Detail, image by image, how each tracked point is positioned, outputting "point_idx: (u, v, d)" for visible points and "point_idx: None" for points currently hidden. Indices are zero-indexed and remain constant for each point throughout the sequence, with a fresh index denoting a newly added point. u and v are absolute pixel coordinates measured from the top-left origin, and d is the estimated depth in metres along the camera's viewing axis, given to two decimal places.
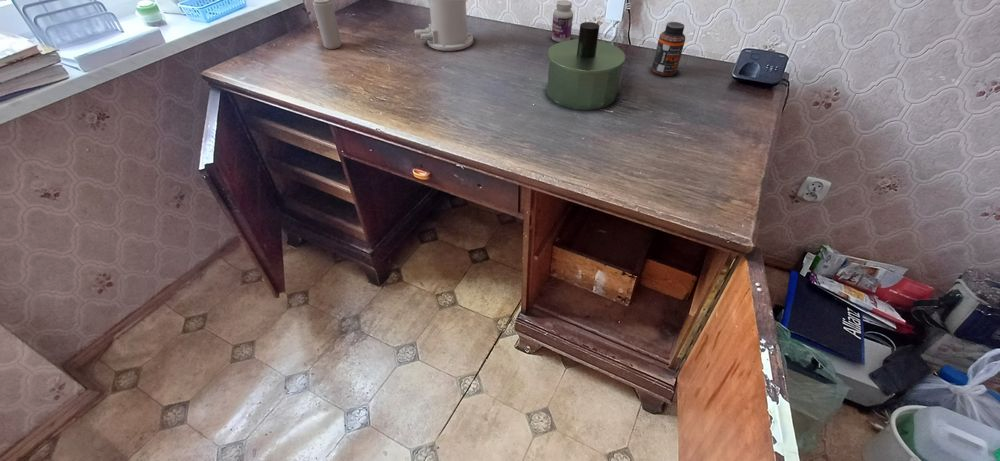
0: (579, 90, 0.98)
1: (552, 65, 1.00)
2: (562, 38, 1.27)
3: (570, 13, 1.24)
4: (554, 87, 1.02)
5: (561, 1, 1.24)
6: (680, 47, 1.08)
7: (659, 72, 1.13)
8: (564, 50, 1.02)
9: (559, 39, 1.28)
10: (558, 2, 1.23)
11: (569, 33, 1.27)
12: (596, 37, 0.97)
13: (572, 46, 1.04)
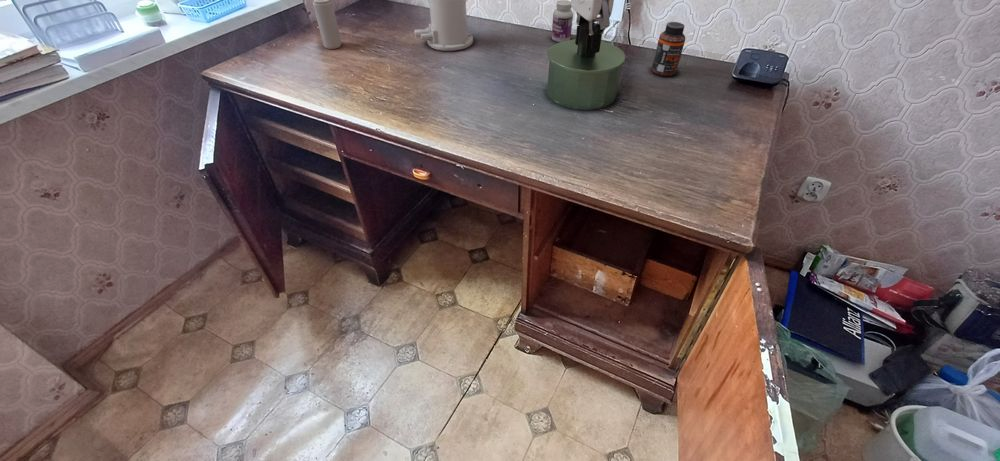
0: (579, 90, 0.98)
1: (552, 65, 1.00)
2: (562, 38, 1.27)
3: (570, 13, 1.24)
4: (554, 87, 1.02)
5: (561, 1, 1.24)
6: (680, 47, 1.08)
7: (659, 72, 1.13)
8: (564, 50, 1.02)
9: (559, 39, 1.28)
10: (558, 2, 1.23)
11: (569, 33, 1.27)
12: None
13: (572, 46, 1.04)
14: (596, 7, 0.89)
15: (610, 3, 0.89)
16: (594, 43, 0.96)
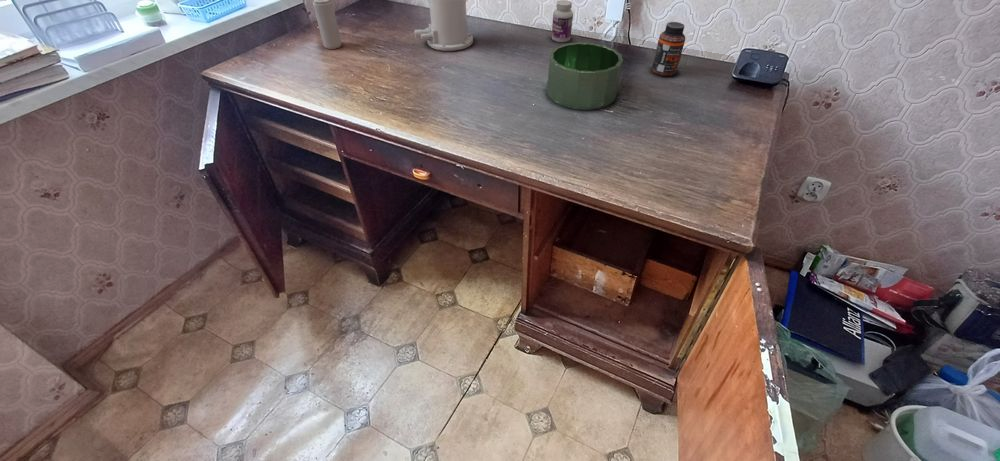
0: (579, 90, 0.98)
1: (552, 65, 1.00)
2: (562, 38, 1.27)
3: (570, 13, 1.24)
4: (554, 87, 1.02)
5: (561, 1, 1.24)
6: (680, 47, 1.08)
7: (659, 72, 1.13)
8: None
9: (559, 39, 1.28)
10: (558, 2, 1.23)
11: (569, 33, 1.27)
12: None
13: None
14: None
15: None
16: None
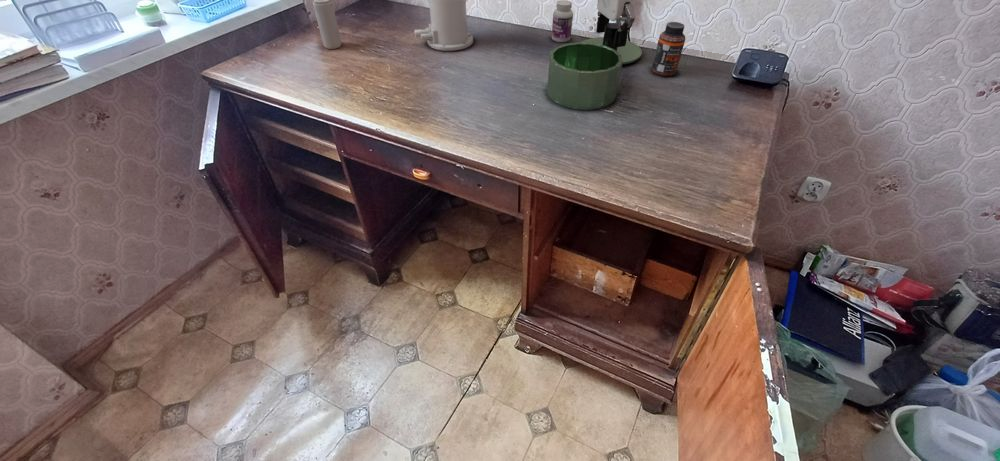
0: (579, 90, 0.98)
1: (552, 65, 1.00)
2: (562, 38, 1.27)
3: (570, 13, 1.24)
4: (554, 87, 1.02)
5: (561, 1, 1.24)
6: (680, 47, 1.08)
7: (659, 72, 1.13)
8: None
9: (559, 39, 1.28)
10: (558, 2, 1.23)
11: (569, 33, 1.27)
12: None
13: (597, 43, 1.25)
14: (619, 10, 1.10)
15: (630, 7, 1.11)
16: (622, 38, 1.15)
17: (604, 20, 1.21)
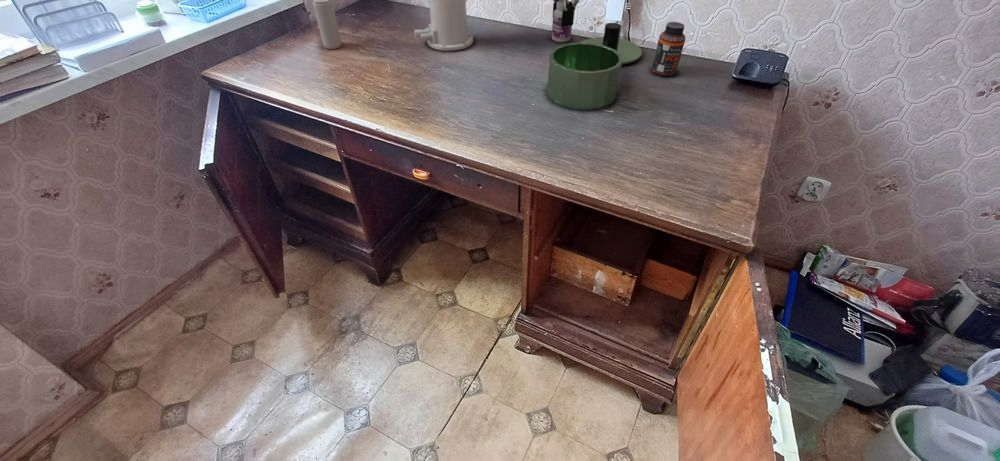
0: (579, 90, 0.98)
1: (552, 65, 1.00)
2: (562, 38, 1.27)
3: None
4: (554, 87, 1.02)
5: (561, 1, 1.24)
6: (680, 47, 1.08)
7: (659, 72, 1.13)
8: None
9: (559, 39, 1.28)
10: (558, 2, 1.23)
11: (569, 33, 1.27)
12: (618, 35, 1.18)
13: (597, 43, 1.25)
14: None
15: None
16: (568, 17, 1.22)
17: None
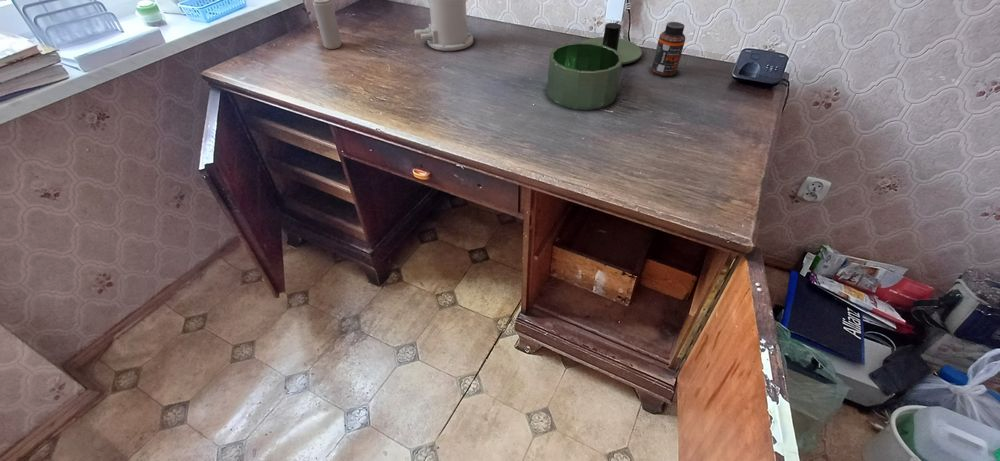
0: (579, 90, 0.98)
1: (552, 65, 1.00)
2: None
3: None
4: (554, 87, 1.02)
5: None
6: (680, 47, 1.08)
7: (659, 72, 1.13)
8: None
9: None
10: None
11: None
12: (618, 35, 1.18)
13: (597, 43, 1.25)
14: None
15: None
16: None
17: None
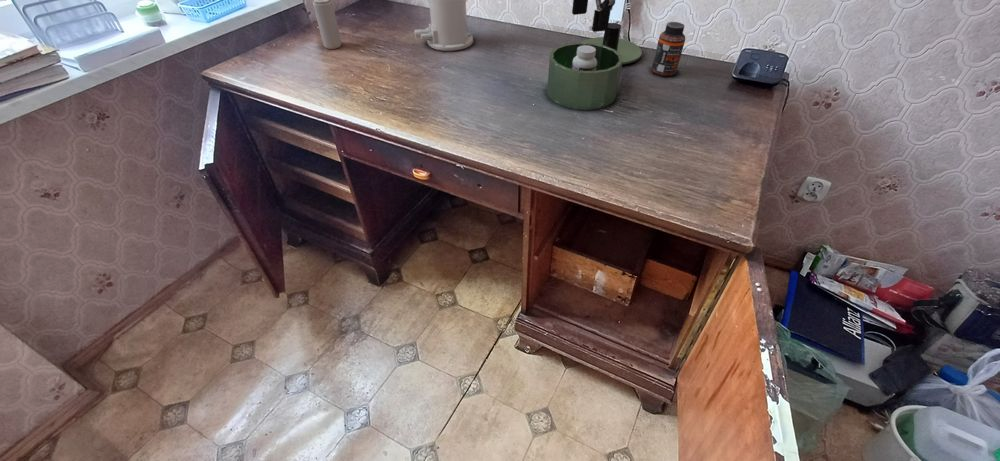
0: (579, 90, 0.98)
1: (552, 65, 1.00)
2: None
3: (594, 62, 1.01)
4: (554, 87, 1.02)
5: (583, 47, 1.01)
6: (680, 47, 1.08)
7: (659, 72, 1.13)
8: None
9: None
10: (579, 48, 1.00)
11: None
12: (618, 35, 1.18)
13: (597, 43, 1.25)
14: None
15: None
16: (602, 20, 0.91)
17: None
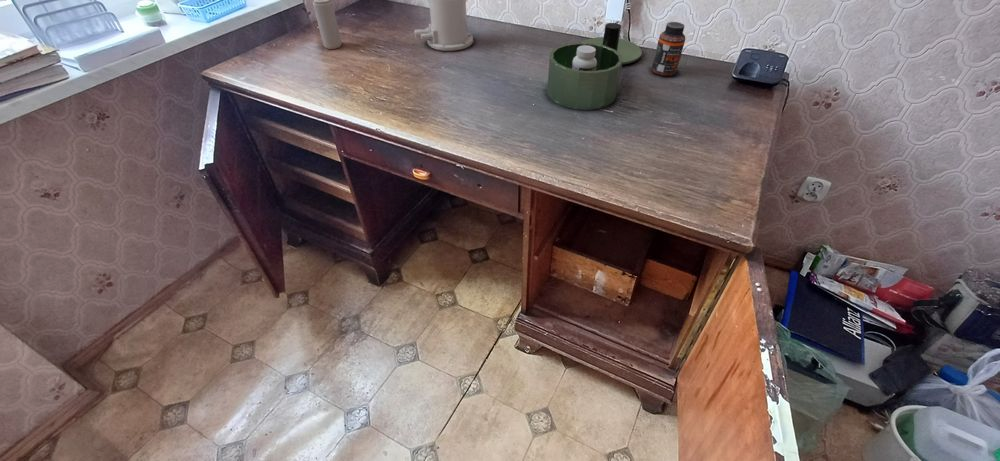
0: (579, 90, 0.98)
1: (552, 65, 1.00)
2: None
3: (593, 62, 1.01)
4: (554, 87, 1.02)
5: (582, 47, 1.01)
6: (680, 47, 1.08)
7: (659, 72, 1.13)
8: None
9: None
10: (579, 48, 1.00)
11: None
12: (618, 35, 1.18)
13: (597, 43, 1.25)
14: None
15: None
16: None
17: None
